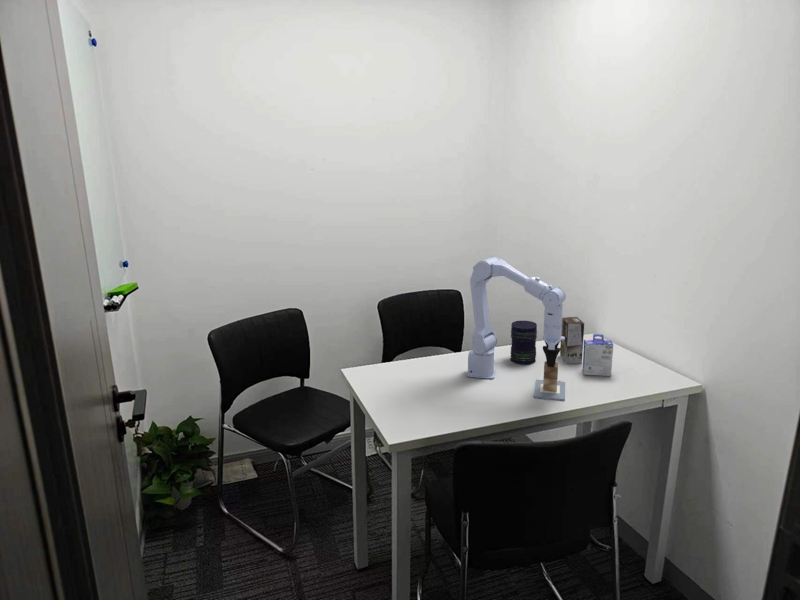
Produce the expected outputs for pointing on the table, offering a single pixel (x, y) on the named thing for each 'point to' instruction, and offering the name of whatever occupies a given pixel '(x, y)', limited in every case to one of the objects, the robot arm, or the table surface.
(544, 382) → the oak cube
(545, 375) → the walnut cube
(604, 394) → the table surface
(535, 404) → the table surface
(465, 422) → the table surface
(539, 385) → the board
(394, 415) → the table surface
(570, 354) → the coffee box
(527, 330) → the storage jar
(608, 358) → the ink cartridge box
